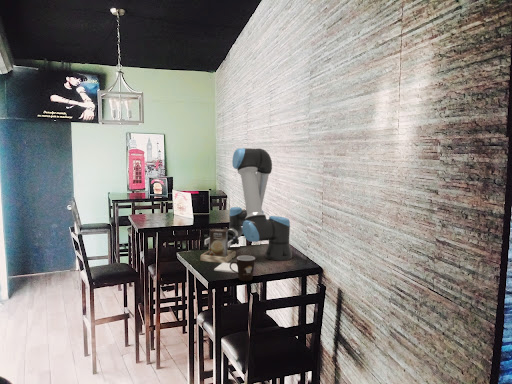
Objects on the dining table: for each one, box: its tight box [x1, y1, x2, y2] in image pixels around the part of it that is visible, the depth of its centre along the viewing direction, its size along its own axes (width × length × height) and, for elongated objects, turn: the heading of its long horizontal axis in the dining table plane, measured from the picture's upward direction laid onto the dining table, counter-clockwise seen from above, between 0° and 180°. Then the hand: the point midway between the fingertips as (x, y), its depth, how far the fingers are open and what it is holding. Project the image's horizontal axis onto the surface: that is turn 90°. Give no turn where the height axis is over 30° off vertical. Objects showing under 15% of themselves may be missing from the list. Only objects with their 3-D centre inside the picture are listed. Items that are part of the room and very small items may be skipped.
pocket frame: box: [200, 249, 237, 264], centre depth 213 cm, size 15×15×3 cm
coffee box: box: [209, 228, 228, 257], centre depth 212 cm, size 9×6×16 cm
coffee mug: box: [229, 255, 256, 282], centre depth 180 cm, size 12×9×10 cm
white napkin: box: [213, 262, 238, 274], centre depth 195 cm, size 14×12×1 cm
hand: (216, 243), depth 210 cm, fingers open, 13 cm apart
